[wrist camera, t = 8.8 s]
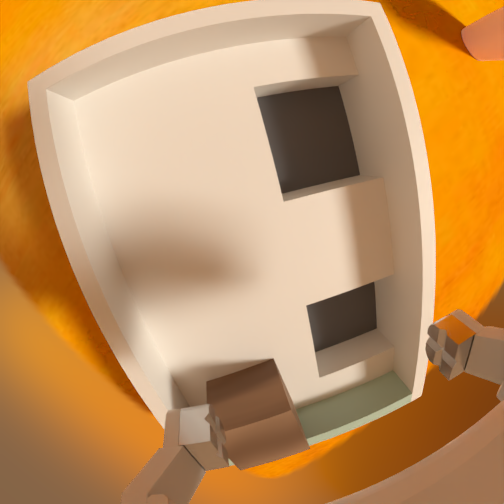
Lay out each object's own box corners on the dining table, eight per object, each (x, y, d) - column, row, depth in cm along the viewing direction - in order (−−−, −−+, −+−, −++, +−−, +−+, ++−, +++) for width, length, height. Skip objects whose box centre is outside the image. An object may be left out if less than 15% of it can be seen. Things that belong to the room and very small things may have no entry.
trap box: (78, 103, 14) (27, 81, 8) (335, 40, 14) (380, 2, 9) (198, 414, 21) (198, 470, 16) (385, 353, 22) (421, 395, 16)
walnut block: (206, 381, 17) (207, 435, 12) (273, 358, 17) (291, 410, 12) (233, 420, 18) (240, 470, 14) (292, 400, 18) (310, 448, 14)
